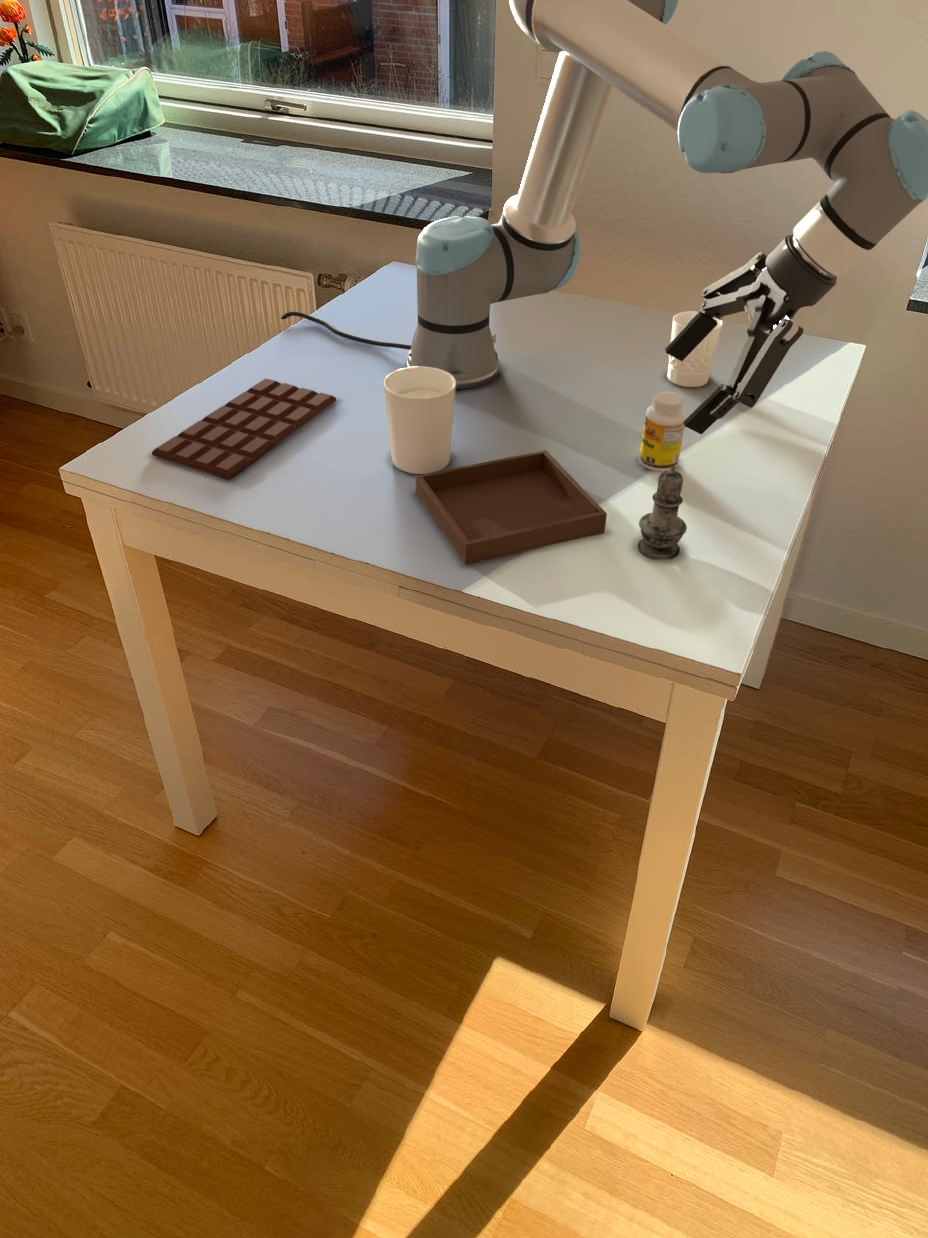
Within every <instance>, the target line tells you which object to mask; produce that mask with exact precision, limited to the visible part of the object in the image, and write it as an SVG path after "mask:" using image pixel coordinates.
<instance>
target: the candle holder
mask: <svg viewBox="0 0 928 1238" xmlns="http://www.w3.org/2000/svg"><path fill="white" fill-rule="evenodd" d="M383 389H384V398H385V407H386V419H387V427H388V438H389V439H388V440H389V446H390V447H389V448H390V455H391V456H390V457H391V461H392V464H393V466H395V467H396V468H397V469H398V470H400V471H401V472H404V473H408V474H413V475H421V474H426V473H431V472H436V471H441V470H444V469H446V467H447V466H448V465H449V464H450V461H451V453H452V441H453V429H454V413H455V399H456V390H457V389H456V380H455V378H454V377H453V376H452V375H451V374H450V373H448V372H446V371H444V370H441V369H437V368H432V367H407V366H406V367H403V368H399V369H396V370H394V371H392V372H390V373H389V374H388V375H386V377H385V378H384V380H383Z"/></svg>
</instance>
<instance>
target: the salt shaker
mask: <svg viewBox="0 0 928 1238" xmlns="http://www.w3.org/2000/svg"><path fill="white" fill-rule="evenodd" d="M670 469H671V470H666V471H661V473H660V475H659V476H658V480H657V485H656V492H655V493H653V494H652V497H651V499H652V501H653V507H652V511H651V512H649V513H646V514H644V515H642V516H641V517H640V519H639V521H638V527H639V529H640V534H641V536H642V539H640V540H639V541H638V543H637V550H638V552H639V553H640V554H641V555H642V556H644V557H645V558H647V559H650V560H654V561H658V562H664V561H665V562H666V561H671V560H674V559H675V558H677V557H678V556H679V555H680V553H681V549H680V546H679V544H678V543H679V542H680V541H681V539H682V538H683V536H684V535H685V533H687V529H688V527H687V523H686V522H685V521H684V519H683V518H681V517H679V515H678V514H679V508H680V506H681V504H683V502H684V499H683V497H682V496H681V494H682V490H683V483H684V477H683V475H682V473H681V472H680V471H677V470H676V469H677V467H675V466H674V465H673V466H671V467H670Z"/></svg>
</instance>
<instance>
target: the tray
mask: <svg viewBox="0 0 928 1238" xmlns="http://www.w3.org/2000/svg"><path fill="white" fill-rule="evenodd" d="M415 495H416V496H417V498H418V499H419V501H420V502H421V504H422V505H423V507H424V508H425V509H426V511H427V513H428V514H429V515H430V516H431V518H432V519H433V521H434V522H435V523H436V525H437V527H438V528H439V529H440V531H441V532H442V533H443V535H444V536H445V538H446V539H447V541H448V542H449V543H450V545H451V547H452V548H453V549H454V550H455V552H456V554H458V556H459V558H460V559H461V560H462V562H463V563H464V564H465V565H470V564H471V565H472V564H475V563H480V562H483V561H488V560H493V559H497V558H502V557H505V556H509V555H514V554H519V553H522V552H528V551H532V550H535V549H541V548H545V547H549V546H553V545H557V544H562V543H567V542H570V541H575V540H580V539H583V538H587V537H592V536H596V535H601V534H605V533H606V532H605V530H606V523H607V515H608V514H607V512H606V511H605V510H604V509H603V508H602V507H601V506H600V504H598V502H597V501H596V500H595V499H594V498H592V496H591V495H590V494H589V493H588V492H587V491H586V490H585V489H584V488H583V487H582V486H581V485H580V484H579V483H578V482H577V481H576V480H575V478H574V477H573V476H571V474H570V473H569V472H568V471H567V470H566V469H565V468H564V467H563V466H562V464H561V463H559V462H558V461H557V460H556V459H555V458H554V457H553V455H551V454H550V452H549V451H547V449H545V450H539V451H535V452H534V451H533V452H529V453H524V454H518V455H514V456H513V455H512V456H509V457H508V456H507V457H503V458H498V459H493V460H488V461H483V462H478V463H473V464H468V465H461V466H458V467H453V468H447V469H442V470H440V471H436V472H431V473H426V474H415Z"/></svg>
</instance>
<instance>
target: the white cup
mask: <svg viewBox="0 0 928 1238" xmlns="http://www.w3.org/2000/svg"><path fill="white" fill-rule="evenodd" d="M699 311H700V310H699ZM699 311H698V310H697V311H696V310H687V311H681V312H678V313H676V314H675V315H673V316H672V325H671V332H670V333H671V334H670V339H669V340H670V341H669V344H670V343H671V342H672V341H673V340H674V339H675V338H676V337H677V336H678V335H679V333H680V332H681V331H682V330H683V329H684V328H685V327H686V325H687V324H688V323H689V321H690V320H691V319H692V318H694V316H695V315H696V314H697V313H698V312H699ZM713 319H715V320H716V321H717V326H716V327H715V328H714V329H713V330H712V331H711V332H710V333H709V334H708V335H707V336H706V337H705V338H704V339H703V340H702V341H701V342H700V343H699V344H698V345H697V346H696V347H695V349H694V350H693V351H692V352H691V353H690V354H689V355H688V356H687V357H686V358H685V359H684V360H683V361H680V360H678V359H676V358H675V357H673V356H671V355H669V354H668V366H667V373H666V376H667V379H668V381H669V382H671V383H672V384H674V385H677V386H681V387H684V388H699V387H703V386H705V385H707V384H708V382H709V379H710V375H711V372H712V368H713V367H714V362H715V358H716V353H717V351H718V348H719V347H718V346H719V342H720V339H721V334H722V329H723V326H724V321H723V319H722V320H719V319H717V318H715V317H713Z"/></svg>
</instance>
